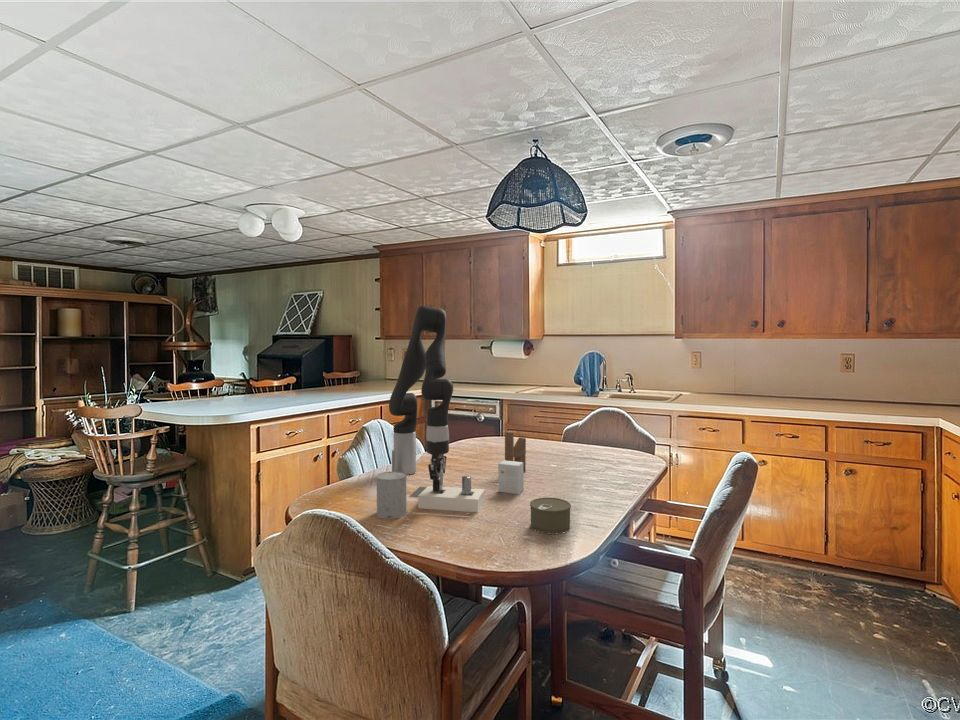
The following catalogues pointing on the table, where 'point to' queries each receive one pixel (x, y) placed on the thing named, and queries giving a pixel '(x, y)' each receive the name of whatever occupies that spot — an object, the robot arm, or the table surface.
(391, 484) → the grey concrete cylinder
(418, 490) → the mat
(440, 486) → the steel pin
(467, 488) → the seated pin
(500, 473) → the small box
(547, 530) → the can
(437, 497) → the bore block
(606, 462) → the table surface
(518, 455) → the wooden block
